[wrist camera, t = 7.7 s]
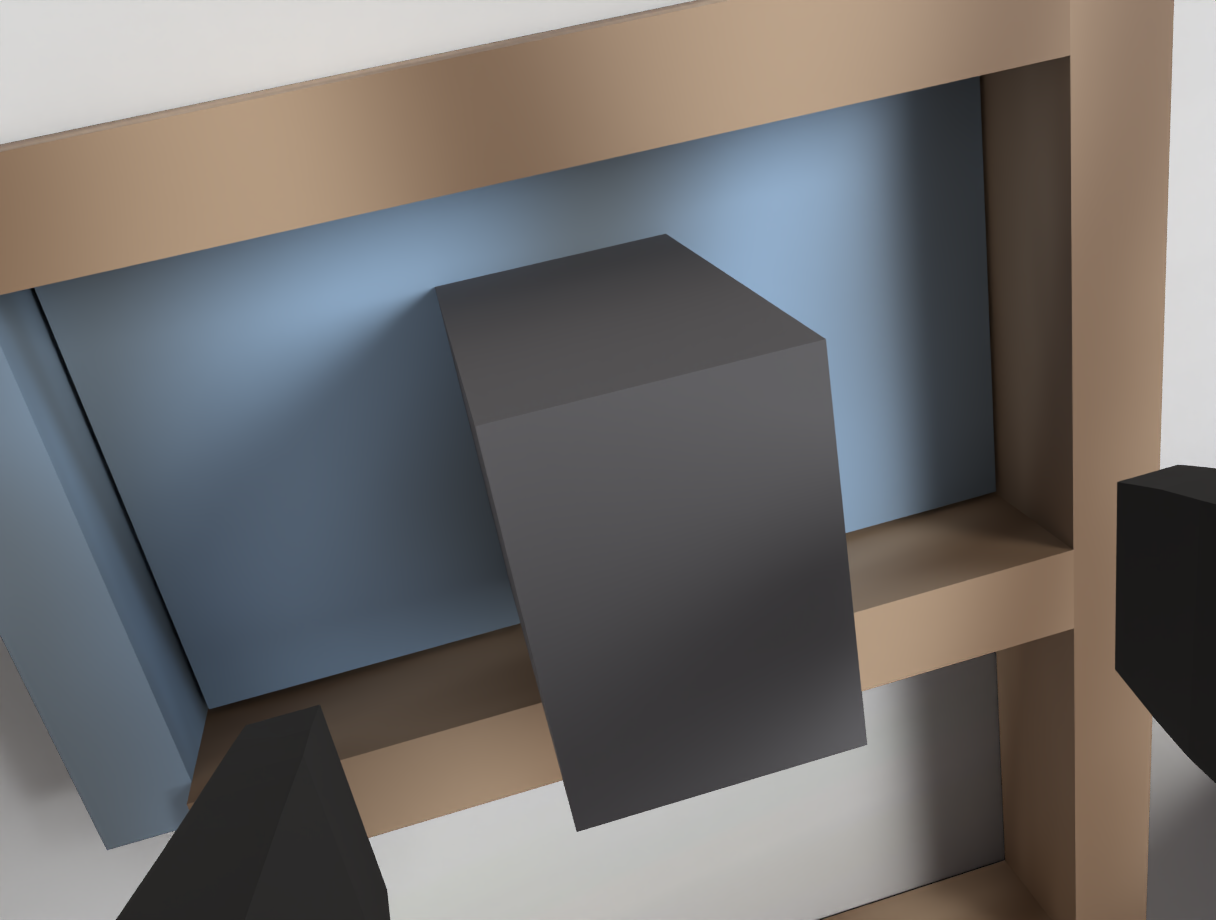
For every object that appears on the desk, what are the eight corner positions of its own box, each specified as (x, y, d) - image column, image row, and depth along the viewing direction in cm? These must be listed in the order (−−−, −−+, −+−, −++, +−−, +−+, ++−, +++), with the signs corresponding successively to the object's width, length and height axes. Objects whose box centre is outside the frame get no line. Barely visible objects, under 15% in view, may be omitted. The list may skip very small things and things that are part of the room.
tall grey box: (665, 233, 16) (825, 338, 10) (711, 527, 18) (867, 744, 12) (434, 286, 15) (475, 426, 10) (509, 581, 17) (576, 831, 12)
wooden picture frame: (1059, -75, 16) (1176, -93, 14) (1068, 890, 24) (1143, 981, 21) (-141, 173, 14) (-242, 201, 11) (307, 1142, 22) (301, 1273, 19)
